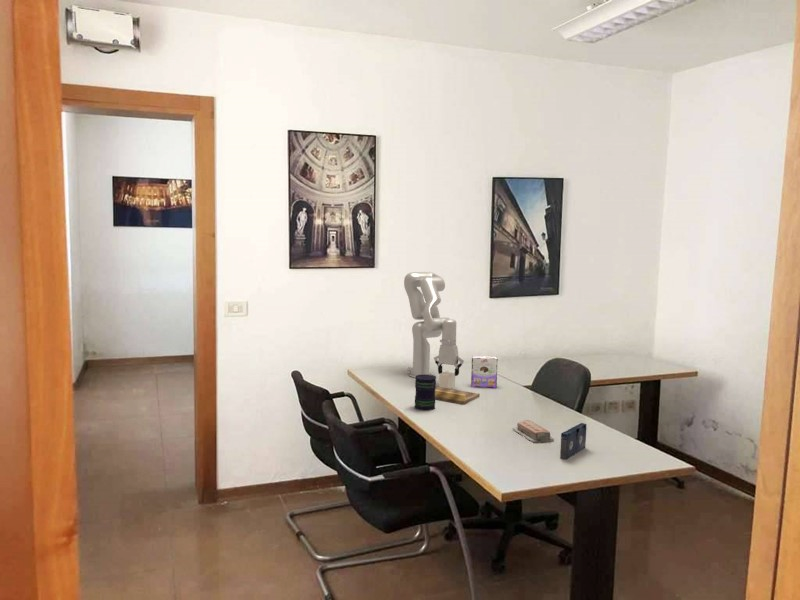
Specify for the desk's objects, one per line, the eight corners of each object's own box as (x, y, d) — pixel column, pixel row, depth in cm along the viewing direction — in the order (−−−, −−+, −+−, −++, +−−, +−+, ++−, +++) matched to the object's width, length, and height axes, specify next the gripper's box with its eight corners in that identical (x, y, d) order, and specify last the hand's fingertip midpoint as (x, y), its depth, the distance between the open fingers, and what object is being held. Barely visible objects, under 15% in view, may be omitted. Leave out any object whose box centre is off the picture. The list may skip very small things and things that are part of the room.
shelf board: (421, 396, 327) (421, 388, 327) (437, 389, 343) (438, 381, 342) (464, 404, 315) (464, 395, 314) (479, 396, 330) (479, 388, 330)
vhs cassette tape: (579, 446, 259) (581, 422, 258) (586, 448, 257) (588, 424, 256) (558, 458, 245) (559, 432, 244) (565, 460, 243) (567, 434, 242)
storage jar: (436, 410, 303) (437, 379, 302) (415, 410, 303) (416, 379, 301) (434, 404, 313) (435, 374, 312) (413, 404, 313) (414, 374, 311)
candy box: (496, 385, 354) (497, 356, 352) (496, 388, 348) (498, 358, 346) (470, 384, 355) (471, 355, 354) (470, 387, 350) (472, 357, 348)
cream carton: (438, 388, 345) (439, 373, 344) (446, 385, 353) (446, 370, 352) (447, 390, 342) (448, 375, 342) (455, 386, 350) (455, 372, 349)
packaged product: (555, 430, 264) (533, 432, 261) (554, 442, 264) (532, 444, 261) (532, 417, 281) (512, 419, 278) (532, 428, 281) (511, 430, 278)
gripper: (431, 342, 346) (430, 373, 347) (460, 345, 337) (460, 377, 338) (437, 340, 352) (437, 371, 354) (466, 343, 343) (466, 375, 345)
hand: (448, 374), depth 346 cm, fingers open, 9 cm apart
